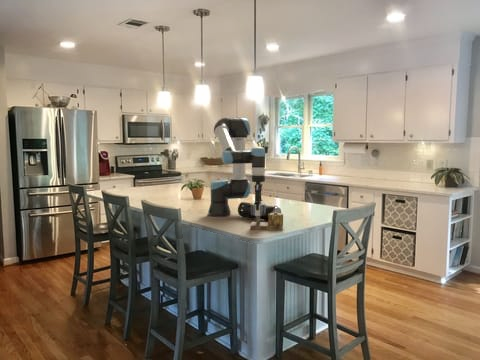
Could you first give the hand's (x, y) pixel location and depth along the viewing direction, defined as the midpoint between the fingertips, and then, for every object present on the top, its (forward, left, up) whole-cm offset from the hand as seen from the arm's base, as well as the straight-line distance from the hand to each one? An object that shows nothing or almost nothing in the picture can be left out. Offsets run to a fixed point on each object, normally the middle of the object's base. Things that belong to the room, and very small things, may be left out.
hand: (258, 214), depth 225 cm
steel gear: (0, 0, 0) cm, 0 cm away
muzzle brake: (-1, +21, -8) cm, 23 cm away
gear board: (+5, 0, -8) cm, 9 cm away
